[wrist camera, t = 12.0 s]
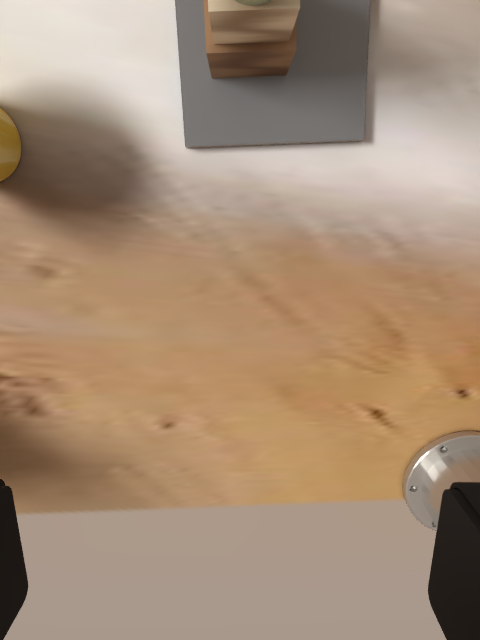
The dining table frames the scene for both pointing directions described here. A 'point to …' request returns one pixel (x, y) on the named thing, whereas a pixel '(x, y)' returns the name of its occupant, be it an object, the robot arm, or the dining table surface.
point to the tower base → (248, 55)
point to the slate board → (280, 82)
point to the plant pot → (8, 146)
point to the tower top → (252, 21)
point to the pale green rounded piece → (252, 2)
